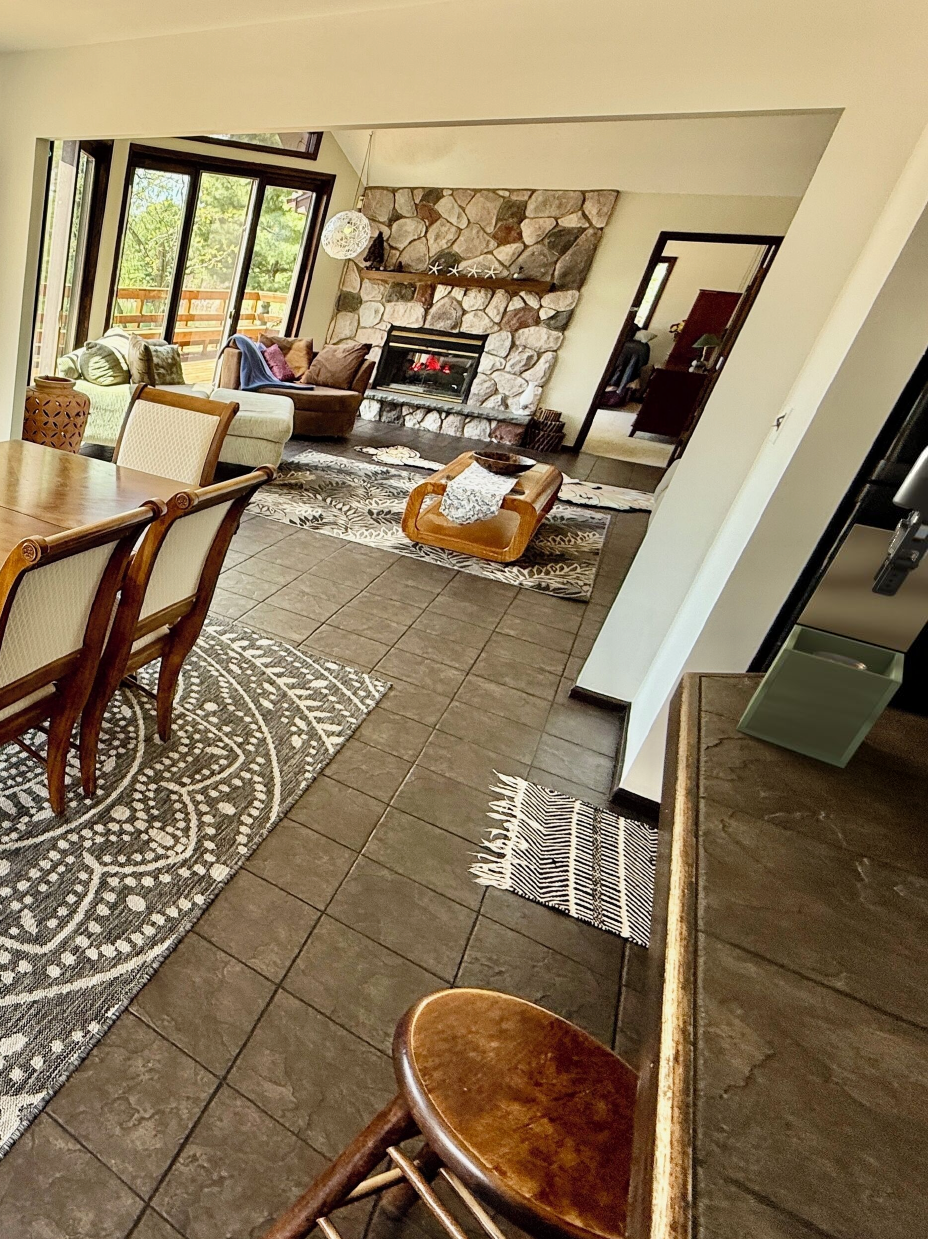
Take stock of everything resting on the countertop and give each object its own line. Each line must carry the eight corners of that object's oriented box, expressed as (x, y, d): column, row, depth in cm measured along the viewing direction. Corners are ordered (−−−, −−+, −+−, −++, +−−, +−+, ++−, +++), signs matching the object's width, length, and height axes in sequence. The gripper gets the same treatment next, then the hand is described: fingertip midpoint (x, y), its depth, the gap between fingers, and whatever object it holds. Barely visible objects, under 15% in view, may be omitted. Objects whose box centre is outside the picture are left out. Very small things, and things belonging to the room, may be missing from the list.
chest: (843, 768, 106) (902, 682, 100) (735, 729, 114) (784, 648, 108) (850, 734, 115) (904, 654, 110) (750, 700, 123) (795, 624, 118)
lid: (975, 548, 102) (975, 547, 103) (854, 524, 110) (855, 523, 111) (906, 652, 109) (906, 650, 110) (796, 622, 117) (797, 621, 118)
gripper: (1001, 490, 91) (922, 608, 98) (994, 478, 100) (921, 588, 107) (910, 475, 96) (841, 588, 103) (911, 465, 105) (847, 570, 112)
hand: (882, 588), depth 105 cm, fingers open, 8 cm apart
